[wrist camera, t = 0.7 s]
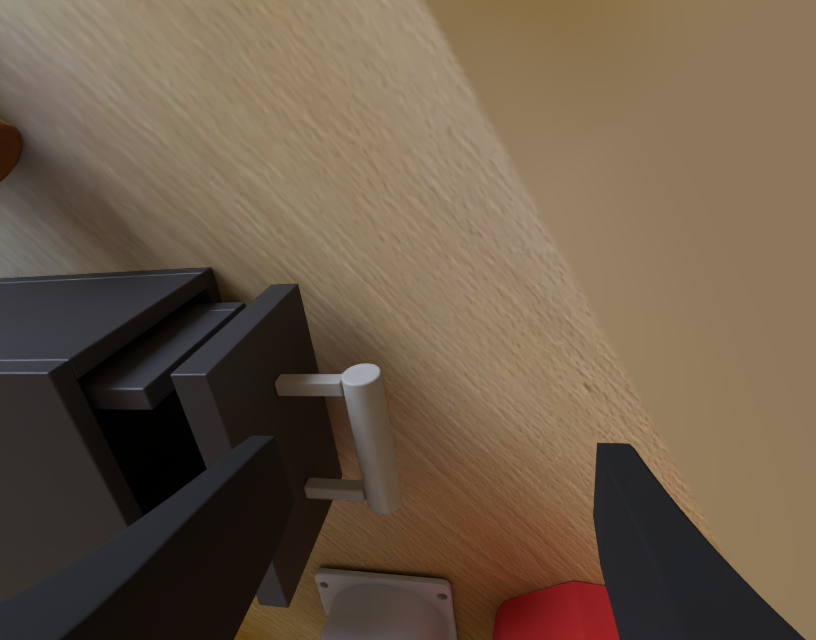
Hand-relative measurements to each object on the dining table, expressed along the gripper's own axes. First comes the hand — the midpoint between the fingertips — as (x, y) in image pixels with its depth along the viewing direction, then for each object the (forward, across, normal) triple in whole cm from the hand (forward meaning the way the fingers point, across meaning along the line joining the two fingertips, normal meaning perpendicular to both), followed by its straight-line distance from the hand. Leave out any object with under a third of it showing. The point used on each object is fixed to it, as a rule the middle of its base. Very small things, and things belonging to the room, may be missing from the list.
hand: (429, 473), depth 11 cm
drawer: (+9, +10, +4) cm, 14 cm away
